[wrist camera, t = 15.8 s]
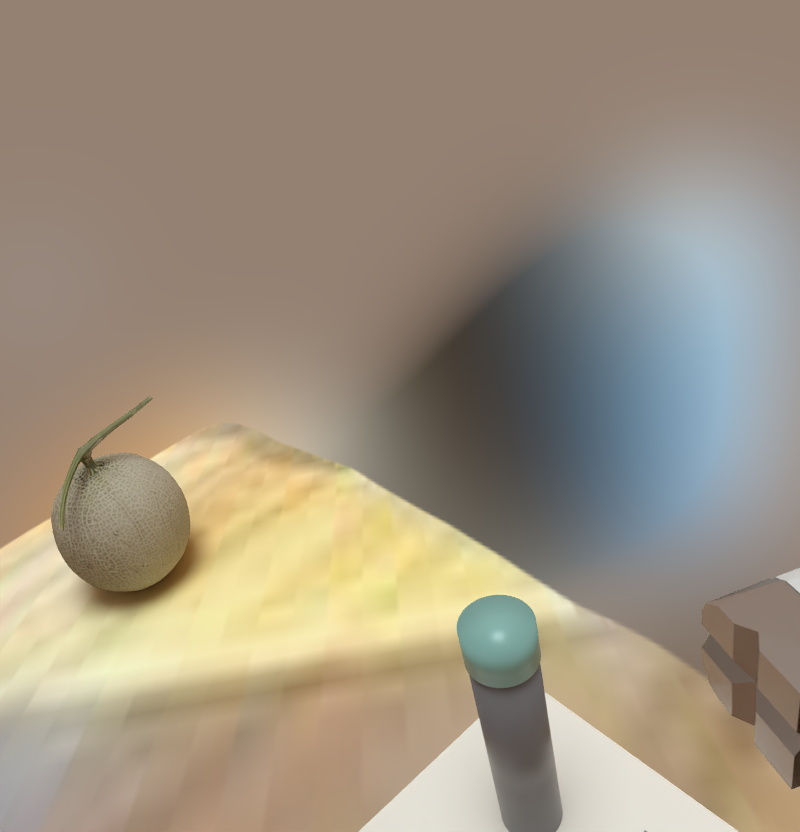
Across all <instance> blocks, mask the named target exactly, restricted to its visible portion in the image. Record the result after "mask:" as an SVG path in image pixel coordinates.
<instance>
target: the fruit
mask: <svg viewBox="0 0 800 832" xmlns="http://www.w3.org/2000/svg"><path fill="white" fill-rule="evenodd" d="M151 400H152V397H151V396H149V397H148V398H147V399H145V400H144V401H143V402H142V403H140V404H139V405H138V406H137V407H135V408H134V409H133V410H131V411H129V412H128V413H127V414H125V415H124V416H122V417H121V418H119V419H118V420H117V421H115V422H114V423H112V424H111V425H110V426H108V427H107V428H105V429H104V430H103V431H101V432H100V433H98V434H97V435H96V436H94V437H93V438H92V439H90V440H89V441H88V442H87V443H86V444H85V445H84V446H82V447H81V448H79V449H78V451H77V453H76V455H75V457H74V459H73V461H72V464H71V466H70V469H69V471H68V474H67V477H66V480H65V483H64V484H63V486H62V487H61V489H60V491H59V492H58V495H57V497H56V498H55V501H54V505H53V509H52V515H51V522H52V528H53V534H54V538H55V542H56V544H57V547H58V550H59V551H60V553H61V555H62V557H63V559H64V560H65V562H66V563H67V565H68V566H69V567H70V568H71V569H72V571H73V572H75V573H76V574H77V575H78V576H79V577H80V578H82V579H83V580H84V581H86V582H88V583H89V584H91V585H93V586H95V587H98V588H100V589H103V590H108V591H123V592H126V591H138V590H142V589H145V588H147V587H150V586H152V585H153V584H155V583H157V582H158V581H160V580H162V579H163V578H164V577H165V576H166V575H167V574H168V573H169V572H170V571H171V570H172V569H173V568H174V567H175V565H176V564H177V563H178V561H179V560H180V559H181V557H182V555H183V553H184V551H185V549H186V547H187V543H188V540H189V534H190V516H189V510H188V506H187V502H186V499H185V497H184V494H183V492H182V490H181V488H180V487H179V485H178V484H177V482H176V481H175V480H174V478H173V477H172V476H171V475H170V474H169V472H168V471H166V470H165V469H164V468H163V467H162V466H160V465H158V464H157V463H156V462H154V461H152V460H150V459H147V458H144V457H142V456H139V455H137V454H131V453H118V454H109V455H104V456H101V457H98V458H96V459H92V457H91V453H92V450H93V449H94V448H95V447H96V446H97V445H98V444H99V443H100V442H101V441H102V440H103V439H104V438H105V437H106V436H107V435H108V434H109V433H111V432H112V431H113V430H114V429H116V428H117V427H118V426H119V425H121V424H122V423H124V422H125V421H126V420H127V419H129V418H130V417H132V416H133V415H134V414H135V413H136V412H137V411H138V410H140V409H141V408H142V407H143V406H144V405H146V404H147V403H148V402H149V401H151ZM80 462H82V463H83V464H82V465H81V466H80V467H79V468H78V469H77V467H78V464H79V463H80ZM76 469H77V470H76Z"/></svg>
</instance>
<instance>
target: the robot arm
mask: <svg viewBox="0 0 800 832" xmlns="http://www.w3.org/2000/svg"><path fill="white" fill-rule="evenodd" d="M702 625H703V626H704V627H705V628H706V629H707V631H708V632H709V633H710V635H709V637H708V638H707V640H706V642H705V643H704V645H703V646H702V658H703V666H704V669H705V672H706V675H707V677H708V680H709V683H710V685H711V687H712V688H713V690H714V692H715V693H716V695H717V697H718V698H719V700H720V701H721V702H722V704H723V705H724V706H725V708H726V709H727V710H728V711H729V713H730V714H731V715H732V716H734V717H736V718H738V719H740V720H743V721H745V722H747V723H749V724H751V725H754V739H755V745H756V746H757V748H758V749H759V750H760V751H761V753H762V754H763V755H764V756H765V758H766V759H767V760H768V761H769V762H770V764H771V765H772V766H773V767H774V769H775V770H776V771H777V772H778V774H779V775H780V776H781V777H782V778H783V780H784V781H785V782H786V783H787V785H788V786H789V787H790V788H791V789H794V788H797V787H799V786H800V568H797V569H795V570H792V571H790V572H787V573H785V574H782V575H780V576H777V577H774V578H772V579H771V578H769V579H766V580H764V581H761V582H758V583H756V584H753V585H751V586H748V587H746V588H743V589H741V590H738V591H735V592H733V593H730V594H728V595H725V596H723V597H720V598H718V599H715V600H713V601H710V602H708V603H706V604H705V606H704V607H703V609H702Z"/></svg>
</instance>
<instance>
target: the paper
mask: <svg viewBox="0 0 800 832" xmlns="http://www.w3.org/2000/svg"><path fill="white" fill-rule="evenodd" d="M545 699H546V705H547V712H548V719H549V725H550V732H551V738H552V745H553V752H554V758H555V765H556V771H557V778H558V784H559V791H560V798H561V804H562V813H563V815H562V821H561V824H560V826H559V828H558V829H557V831H556V832H738V831H737V830H735V829H734V828H733V827H731V826H730V825H729V824H727V823H726V822H724V821H723V820H722V819H720V818H719V817H717V816H716V815H715V814H713V813H712V812H711V811H709V810H708V809H706V808H705V807H704V806H702V805H701V804H699V803H698V802H697V801H695V800H694V799H692V798H691V797H690V796H688V795H687V794H686V793H684V792H683V791H681V790H680V789H679V788H677V787H676V786H674V785H673V784H672V783H670V782H669V781H668V780H666V779H665V778H663V777H662V776H661V775H659V774H658V773H656V772H655V771H654V770H652V769H651V768H649V767H648V766H647V765H645V764H644V763H643V762H641V761H640V760H638V759H637V758H636V757H634V756H633V755H631V754H630V753H629V752H627V751H626V750H625V749H623V748H622V747H620V746H619V745H618V744H616V743H615V742H613V741H612V740H611V739H609V738H608V737H606V736H605V735H604V734H602V733H601V732H600V731H598V730H597V729H595V728H594V727H593V726H591V725H590V724H588V723H587V722H586V721H584V720H583V719H582V718H580V717H579V716H577V715H576V714H575V713H573V712H572V711H570V710H569V709H568V708H566V707H565V706H563V705H562V704H561V703H559V702H558V701H557V700H555V699H554V698H552V697H551V696H550V695H548V694H547V693H545ZM359 832H509V831H508V829H507V828H506V827H505V825H504V823H503V820H502V816H501V812H500V807H499V803H498V799H497V794H496V790H495V785H494V781H493V776H492V772H491V768H490V763H489V759H488V754H487V750H486V746H485V741H484V737H483V732H482V728H481V724H480V719H479V718H478V719H477V720H476V721H475V722H474V723H473V724H472V725H471V726H470V727H469V728H468V729H467V730H466V731H465V732H464V733H463V734H461V735H460V736H459V737H458V738H457V739H456V740H455V741H454V742H453V743H452V744H451V745H450V746H449V747H448V748H447V749H446V750H445V751H443V752H442V753H441V754H440V755H439V756H438V757H437V758H436V759H435V760H434V761H433V762H432V763H431V764H430V765H429V766H428V767H427V768H425V769H424V770H423V771H422V772H421V773H420V774H419V775H418V776H417V777H416V778H415V779H414V780H413V781H412V782H411V783H410V784H409V785H407V786H406V787H405V788H404V789H403V790H402V791H401V792H400V793H399V794H398V795H397V796H396V797H395V798H394V799H393V800H392V801H390V802H389V803H388V804H387V805H386V806H385V807H384V808H383V809H382V810H381V811H380V812H379V813H378V814H377V815H376V816H375V817H374V818H372V819H371V820H370V821H369V822H368V823H367V824H366V825H365V826H364V827H363V828H362V829H361V830H360V831H359Z"/></svg>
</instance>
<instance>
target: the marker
mask: <svg viewBox="0 0 800 832" xmlns="http://www.w3.org/2000/svg"><path fill="white" fill-rule="evenodd" d="M457 633H458V637H459V642H460V646H461V650H462V655H463V659H464V663H465V667H466V670H467V671H468V673H469V675H470V680H471V684H472V688H473V693H474V697H475V702H476V706H477V710H478V715H479V719H480V724H481V728H482V732H483V737H484V741H485V746H486V750H487V754H488V759H489V763H490V768H491V772H492V776H493V781H494V785H495V790H496V794H497V799H498V803H499V807H500V812H501V816H502V820H503V823H504V825H505V827H506V828H507V829H508V831H509V832H556V831H557V829H558V828H559V826H560V824H561V821H562V815H563V813H562V804H561V798H560V791H559V784H558V778H557V771H556V765H555V758H554V752H553V745H552V738H551V732H550V725H549V719H548V712H547V705H546V699H545V692H544V686H543V679H542V673H541V666H540V660H541V651H540V644H539V637H538V630H537V624H536V618H535V615H534V613H533V611H532V609H531V608H530V607H529V606H528V605H527V604H526V603H525V602H523V601H521V600H520V599H517V598H515V597H511V596H506V595H492V596H487V597H483V598H481V599H478V600H476V601H474V602H473V603H471V604H470V605H468V606H467V607H466V608H465V609H464V610H463V612H462V613H461V615H460V617H459V619H458V622H457Z"/></svg>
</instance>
